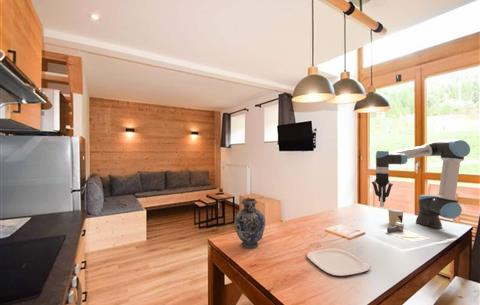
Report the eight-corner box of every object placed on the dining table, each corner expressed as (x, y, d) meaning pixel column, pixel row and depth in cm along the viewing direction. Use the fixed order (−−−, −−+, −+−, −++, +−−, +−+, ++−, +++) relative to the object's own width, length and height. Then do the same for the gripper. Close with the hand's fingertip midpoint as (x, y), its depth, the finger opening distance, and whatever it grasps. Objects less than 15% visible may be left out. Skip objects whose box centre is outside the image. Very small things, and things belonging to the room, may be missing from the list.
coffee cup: (401, 229, 162) (401, 212, 162) (386, 225, 169) (386, 210, 169) (404, 226, 168) (404, 210, 168) (390, 223, 175) (390, 207, 175)
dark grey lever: (398, 229, 158) (398, 221, 158) (405, 231, 153) (405, 223, 153) (384, 231, 153) (384, 223, 153) (391, 233, 149) (391, 225, 149)
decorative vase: (268, 252, 127) (267, 203, 126) (236, 254, 125) (234, 204, 125) (262, 237, 148) (261, 195, 148) (234, 239, 147) (233, 196, 146)
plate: (377, 272, 107) (377, 268, 107) (332, 281, 99) (332, 277, 99) (339, 249, 131) (339, 246, 131) (301, 255, 124) (301, 252, 124)
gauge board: (396, 229, 162) (396, 226, 162) (431, 240, 141) (431, 238, 141) (377, 232, 156) (377, 230, 156) (411, 245, 135) (411, 242, 135)
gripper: (369, 172, 159) (369, 205, 160) (390, 173, 149) (390, 209, 149) (374, 171, 164) (374, 203, 164) (395, 173, 153) (394, 207, 153)
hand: (382, 206), depth 156 cm, fingers closed
